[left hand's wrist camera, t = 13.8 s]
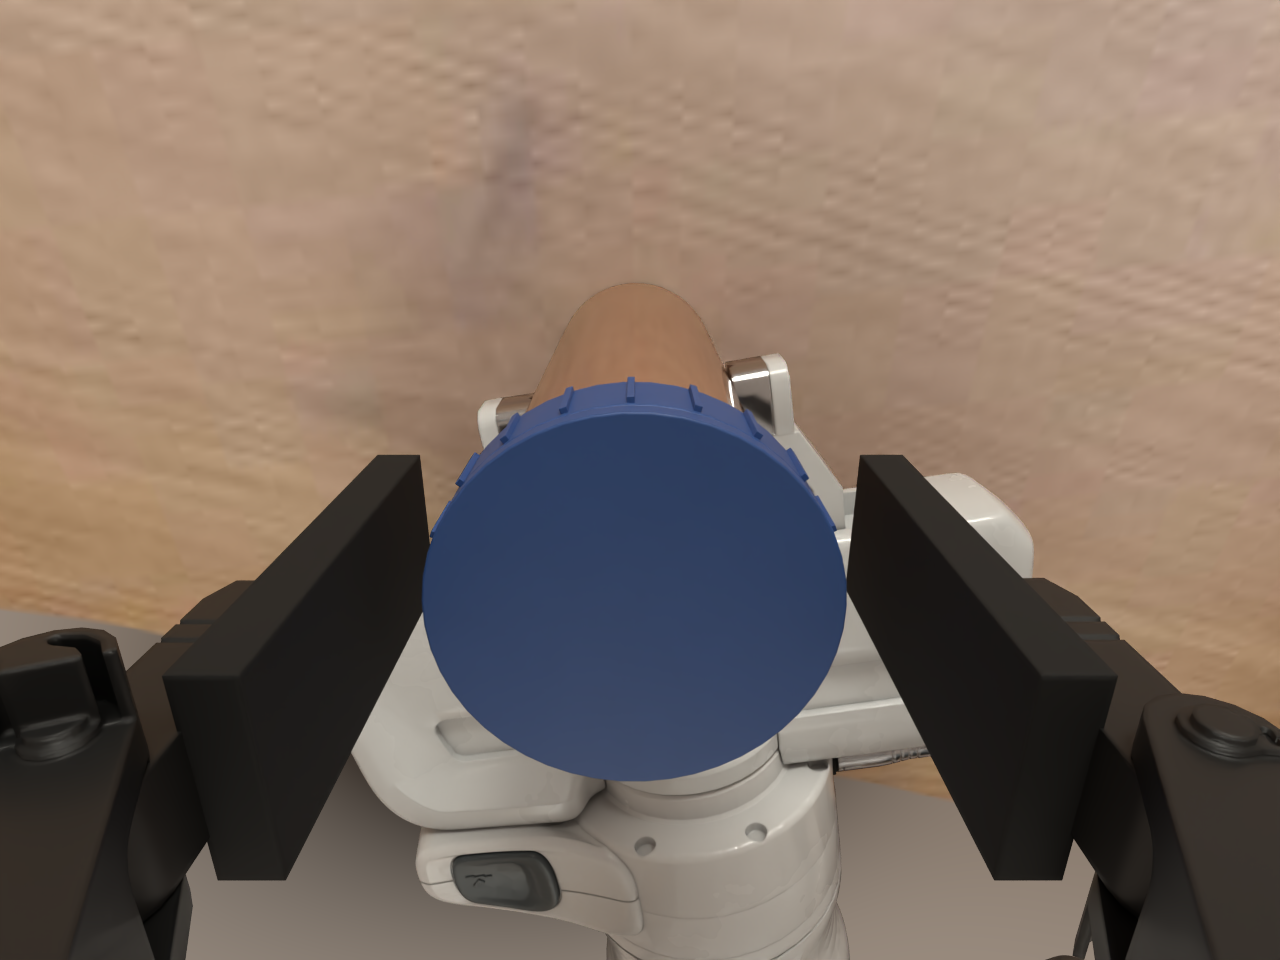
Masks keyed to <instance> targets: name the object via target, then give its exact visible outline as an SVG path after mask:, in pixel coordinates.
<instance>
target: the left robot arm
mask: <svg viewBox="0 0 1280 960" xmlns="http://www.w3.org/2000/svg"><path fill="white" fill-rule="evenodd" d="M429 547H430V541H429V532H428V523H427V514H426V506H425V497H424V488H423V479H422V470H421V461H420V455H377V456H376V457H375V458H374V459H373V460H372V461H371V462H370V463H369V464H368V465H367V466H366V467H365V468H364V469H363V471H362V472H361V473H360V474H359V475H358V476H357V477H356V478H355V479H354V480H353V481H352V482H351V483H350V484H349V485H348V486H347V487H346V488H345V489H344V490H343V491H342V492H341V493H340V494H339V495H338V496H337V497H336V498H335V499H334V500H333V501H332V502H331V503H330V504H329V505H328V506H327V507H326V508H325V509H324V510H323V511H322V512H321V513H320V514H319V516H318V517H317V518H316V519H315V520H314V521H313V522H312V523H311V524H310V525H309V526H308V527H307V528H306V529H305V530H304V531H303V532H302V533H301V534H300V535H299V536H298V537H297V538H296V539H295V540H294V541H293V542H292V543H291V544H290V545H289V546H288V547H287V548H286V549H285V550H284V551H283V552H282V553H281V554H280V555H279V556H278V557H277V558H276V559H275V561H274V562H273V563H272V564H271V565H270V566H269V567H268V568H267V569H266V570H265V571H264V572H263V573H262V574H261V575H260V576H259V577H258V578H257V579H256V580H255V581H235V582H233V583H231V584H229V585H228V586H226V587H224V588H222V589H220V590H218V591H216V592H215V593H213V594H211V595H209V596H207V597H205V598H204V599H202V600H201V601H200V602H199V603H198V604H197V605H196V606H195V607H194V608H193V609H192V610H191V611H190V612H188V613H187V614H186V615H185V616H184V617H183V618H182V619H181V620H180V624H176V625H175V626H174V627H173V628H172V629H170V630H169V631H168V632H167V633H166V634H165V635H164V636H163V637H162V638H161V643H156V644H155V645H154V646H152V647H151V648H150V649H149V650H148V651H147V652H146V653H145V654H144V655H143V656H142V657H141V658H140V659H139V660H138V661H137V662H135V663H134V664H133V665H132V666H131V667H130V668H129V669H128V670H127V671H126V670H125V667H124V664H123V660H122V657H121V653H120V650H119V647H118V643H117V640H116V637H114V636H112V635H111V634H109V633H108V632H106V631H104V630H99V629H90V628H73V629H63V630H54V631H50V632H46V633H42V634H38V635H34V636H30V637H26V638H22V639H20V640H17V641H15V642H12V643H10V644H7V645H5V646H2V647H0V960H185V958H186V951H187V944H188V936H189V929H190V921H191V914H192V907H193V905H192V899H191V892H190V887H189V884H188V881H187V877H186V873H187V871H188V869H189V868H190V866H191V865H192V863H193V862H194V860H195V859H196V857H197V856H198V854H199V853H200V851H201V850H202V848H203V847H204V845H205V844H206V842H207V843H208V846H209V850H210V854H211V857H212V861H213V864H214V868H215V872H216V875H217V879H218V880H286V879H287V877H288V875H289V873H290V871H291V869H292V867H293V865H294V863H295V861H296V859H297V857H298V855H299V853H300V851H301V849H302V847H303V845H304V843H305V841H306V840H307V838H308V836H309V834H310V832H311V830H312V828H313V826H314V824H315V822H316V820H317V818H318V816H319V814H320V812H321V810H322V808H323V806H324V804H325V802H326V800H327V798H328V797H329V795H330V793H331V791H332V789H333V787H334V785H335V783H336V781H337V779H338V777H339V775H340V773H341V771H342V769H343V767H344V765H345V763H346V761H347V759H348V757H349V755H350V753H351V751H352V750H353V748H354V746H355V744H356V742H357V740H358V738H359V736H360V734H361V732H362V730H363V728H364V726H365V724H366V722H367V720H368V718H369V716H370V714H371V712H372V710H373V708H374V706H375V705H376V703H377V701H378V699H379V697H380V695H381V693H382V691H383V689H384V687H385V685H386V683H387V681H388V679H389V677H390V675H391V673H392V671H393V669H394V667H395V665H396V663H397V661H398V659H399V658H400V656H401V654H402V652H403V650H404V648H405V646H406V644H407V642H408V640H409V638H410V636H411V634H412V632H413V630H414V628H415V626H416V624H417V622H418V620H419V618H420V616H421V614H422V612H423V610H422V579H423V572H424V567H425V562H426V557H427V552H428V549H429ZM846 585H847V593H848V595H849V597H850V599H851V601H852V603H853V605H854V607H855V609H856V611H857V613H858V614H859V616H860V618H861V620H862V622H863V624H864V626H865V628H866V630H867V632H868V634H869V636H870V638H871V640H872V642H873V644H874V646H875V648H876V650H877V652H878V654H879V656H880V658H881V659H882V661H883V663H884V665H885V667H886V669H887V671H888V673H889V675H890V677H891V679H892V681H893V683H894V685H895V687H896V689H897V691H898V693H899V695H900V697H901V699H902V701H903V703H904V705H905V706H906V708H907V710H908V712H909V714H910V716H911V718H912V720H913V722H914V724H915V726H916V728H917V730H918V732H919V734H920V736H921V738H922V740H923V742H924V744H925V746H926V748H927V750H928V751H929V753H930V755H931V757H932V759H933V761H934V763H935V765H936V767H937V769H938V771H939V773H940V775H941V777H942V779H943V781H944V783H945V785H946V787H947V789H948V791H949V793H950V795H951V797H952V798H953V800H954V802H955V804H956V806H957V808H958V810H959V812H960V814H961V816H962V818H963V820H964V822H965V824H966V826H967V828H968V830H969V832H970V834H971V836H972V838H973V840H974V842H975V844H976V845H977V847H978V849H979V851H980V853H981V855H982V857H983V859H984V861H985V863H986V865H987V867H988V869H989V871H990V873H991V875H992V877H993V879H994V880H1062V879H1063V875H1064V871H1065V868H1066V864H1067V861H1068V857H1069V853H1070V850H1071V846H1072V843H1073V839H1074V840H1075V841H1076V843H1077V844H1078V846H1079V847H1080V849H1081V850H1082V852H1083V853H1084V855H1085V856H1086V858H1087V859H1088V861H1089V862H1090V864H1091V865H1092V867H1093V868H1094V870H1095V874H1094V877H1093V881H1092V884H1091V887H1090V891H1089V894H1088V898H1087V901H1086V904H1085V908H1084V911H1083V915H1082V918H1081V921H1080V925H1079V928H1078V932H1077V935H1076V938H1075V944H1074V950H1073V956H1075V957H1078V958H1081V959H1084V958H1085V955H1086V952H1087V948H1088V945H1089V942H1091V941H1093V948H1094V956H1095V960H1280V729H1278V728H1277V727H1275V726H1274V725H1272V724H1271V723H1270V722H1268V721H1267V720H1265V719H1264V718H1262V717H1259V716H1257V715H1255V714H1253V713H1251V712H1249V711H1246V710H1244V709H1242V708H1240V707H1238V706H1236V705H1233V704H1230V703H1226V702H1223V701H1219V700H1216V699H1213V698H1209V697H1206V696H1199V695H1190V694H1182V693H1181V692H1180V691H1178V690H1177V689H1176V688H1175V687H1174V686H1173V685H1172V684H1171V683H1170V682H1169V681H1168V680H1167V679H1166V678H1165V677H1163V676H1162V675H1161V674H1160V673H1159V672H1158V671H1157V670H1156V669H1155V668H1154V667H1153V666H1152V665H1151V664H1150V663H1149V662H1147V661H1146V660H1145V659H1144V658H1143V657H1142V656H1141V655H1140V654H1139V653H1138V652H1137V651H1136V650H1135V649H1134V648H1132V647H1131V646H1130V645H1129V644H1128V643H1127V642H1126V641H1125V640H1120V638H1119V634H1118V633H1116V632H1115V631H1114V630H1113V629H1112V628H1111V627H1110V626H1109V625H1108V624H1107V623H1106V622H1101V620H1100V617H1099V616H1098V615H1097V614H1096V613H1095V612H1094V611H1093V610H1092V609H1091V608H1090V607H1089V606H1088V605H1087V604H1085V603H1084V602H1083V601H1082V600H1081V599H1080V598H1079V597H1078V596H1076V595H1074V594H1073V593H1071V592H1069V591H1067V590H1065V589H1063V588H1061V587H1060V586H1058V585H1056V584H1054V583H1052V582H1050V581H1048V580H1047V579H1045V578H1022V577H1021V576H1020V575H1019V574H1018V573H1017V572H1016V571H1015V570H1014V569H1013V568H1012V567H1011V566H1010V565H1009V564H1008V563H1007V562H1006V561H1005V559H1004V558H1003V557H1002V556H1001V555H1000V554H999V553H998V552H997V551H996V550H995V549H994V548H993V547H992V546H991V545H990V544H989V543H988V542H987V541H986V540H985V539H984V538H983V537H982V536H981V535H980V534H979V533H978V532H977V531H976V530H975V529H974V528H973V527H972V526H971V525H970V524H969V523H968V522H967V521H966V520H965V519H964V518H963V517H962V516H961V514H960V513H959V512H958V511H957V510H956V509H955V508H954V507H953V506H952V505H951V504H950V503H949V502H948V501H947V500H946V499H945V498H944V497H943V496H942V495H941V494H940V493H939V492H938V491H937V490H936V489H935V488H934V487H933V486H932V485H931V484H930V483H929V482H928V481H927V480H926V479H925V478H924V477H923V476H922V475H921V474H920V473H919V472H918V471H917V469H916V468H915V467H914V466H913V465H912V464H911V463H910V462H909V461H908V460H907V459H906V458H905V457H904V456H903V455H860V461H859V470H858V479H857V488H856V497H855V505H854V514H853V523H852V532H851V541H850V550H849V559H848V568H847V577H846Z"/></svg>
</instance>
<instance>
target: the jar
mask: <svg viewBox="0 0 1280 960" xmlns="http://www.w3.org/2000/svg"><path fill="white" fill-rule="evenodd" d="M628 377H635V382H653V383H660V384H667V385H674V386H679V387H683V388H686V389H689V386H690V384H691V385H695V386H697V389H698V392H701V393H704V394H706V395H709V396H711V397H713V398H716V399H718V400H720V401H723V402H725V403H727V404H729V405H731V406H732V407H734V408H736V409H737V410H739V411H741V412H743V413H744V411H745V410H744V408H743V406H742V404H741V402H740V400H739V398H738V396H737V394H736V391H735V389H734V387H733V385H732V383H731V381H730V379H729V377H728V375H727V372H726V370H725V368H724V366H723V364H722V362H721V360H720V358H719V356H718V353H717V351H716V349H715V347H714V345H713V343H712V341H711V339H710V337H709V334H708V332H707V330H706V328H705V326H704V324H703V322H702V320H701V319H700V317H699V316H698V315H697V313H696V312H695V311H694V309H693V308H692V307H691V306H690V305H689V304H688V303H687V302H685V301H684V300H683V299H682V298H681V297H679V296H677V295H676V294H674V293H673V292H671V291H668V290H666V289H664V288H661V287H658V286H655V285H650V284H643V283H629V284H621V285H617V286H613V287H610V288H608V289H605V290H603V291H601V292H599V293H597V294H596V295H594V296H592V297H591V298H590V299H589V300H587V301H586V302H585V303H584V304H583V305H582V306H581V307H580V308H579V309H578V310H577V311H576V313H575V314H574V315H573V317H572V318H571V320H570V322H569V324H568V325H567V327H566V329H565V331H564V333H563V335H562V338H561V340H560V342H559V344H558V346H557V348H556V350H555V352H554V354H553V356H552V358H551V360H550V362H549V364H548V366H547V368H546V370H545V372H544V374H543V376H542V379H541V381H540V383H539V385H538V387H537V389H536V391H535V393H534V395H533V397H532V399H531V401H530V403H529V405H528V407H527V409H526V411H525V413H526V412H528V411H530V410H532V409H533V408H535V407H537V406H539V405H540V404H542V403H544V402H546V401H548V400H551V399H553V398H556V397H558V396H561V395H563V394H564V392H565V389H566V388H568V387H571V386H573V389H574V391H575V390H579V389H583V388H587V387H591V386H595V385H601V384H609V383H618V382H627V378H628Z"/></svg>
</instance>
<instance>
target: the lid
mask: <svg viewBox="0 0 1280 960" xmlns="http://www.w3.org/2000/svg"><path fill="white" fill-rule="evenodd" d="M808 479H809V477H808V475H807V473H806V471H805V470H804V468H803V466H802V465H801V463H800V461H799V459H798V458H797V456H796V454H795V453H794V451H793V450H792V449H791V448H789V449H787V450H785V448H784V447H783V446H782V445H781V444H780V443H779V442H778V441H777V440H776V439H775V438H774V437H773V436H772V435H771V434H770V433H769V432H768V431H767V430H766V429H764V428H763V427H762V426H761V425H759V424H758V423H757V422H756V420H755V418H754V416H753V414H752V412H751V411H749V410H748V409H746V410H745V411H744V413H743V412H741V411H739V410H737V409H736V408H734V407H732V406H731V405H729V404H727V403H725V402H723V401H720V400H718V399H716V398H713V397H711V396H709V395H706V394H704V393H701V392H698V389H697V386H695V385H691V384H690V386H689V389H686V388H683V387H679V386H674V385H667V384H660V383H653V382H635V377H628V378H627V382H618V383H609V384H601V385H595V386H591V387H587V388H583V389H579V390H575V391H574V389H573V386H571V387H568V388H566V389H565V392H564V394H563V395H561V396H558V397H556V398H553V399H551V400H548V401H546V402H544V403H542V404H540V405H539V406H537V407H535V408H533V409H532V410H530V411H528V412H526V413H524V414H523V415H522V416H520V415H519V414H518V413H515V414H514V415H513V416H512V417H511V419H510V421H509V423H508V424H507V426H506V428H504V429H503V430H502V431H501V432H500V433H499V434H498V435H497V436H496V437H495V438H494V439H493V440H492V441H491V442H490V443H489V444H488V445H487V446H486V447H485V449H484V450H483V451H482V453H481V454H480V455H478V454H477V453H474V454H473V455H472V457H471V458H470V460H469V462H468V463H467V465H466V467H465V468H464V470H463V472H462V473H461V475H460V477H459V478H458V480H457V482H456V483H455V484H456V485H458V486H459V488H458V490H457V492H456V494H455V495H454V497H453V499H452V500H451V501H449V502H448V504H447V505H446V507H445V509H444V510H443V512H442V514H441V516H440V517H439V519H438V521H437V522H436V524H435V526H434V527H433V529H432V531H431V534H430V537H431V538H432V541H431V544H430V547H429V549H428V552H427V557H426V562H425V567H424V572H423V579H422V610H423V619H424V627H425V630H426V634H427V638H428V642H429V646H430V649H431V652H432V654H433V657H434V659H435V661H436V664H437V666H438V668H439V671H440V673H441V674H442V676H443V678H444V679H445V681H446V683H447V684H448V686H449V688H450V689H451V691H452V693H453V694H454V695H455V696H456V698H457V699H458V700H459V701H460V703H461V704H462V705H463V707H464V708H465V709H466V710H467V711H468V712H469V713H470V714H471V715H472V716H473V717H474V718H475V719H476V720H477V721H478V722H479V723H480V724H481V725H482V726H483V727H484V728H485V729H486V730H488V731H489V732H490V733H492V734H493V735H494V736H496V737H497V738H498V739H499V740H501V741H502V742H503V743H505V744H507V745H508V746H510V747H512V748H513V749H515V750H517V751H518V752H520V753H522V754H523V755H525V756H527V757H530V758H532V759H534V760H536V761H538V762H541V763H543V764H545V765H547V766H550V767H553V768H556V769H559V770H562V771H565V772H568V773H572V774H576V775H581V776H586V777H590V778H595V779H603V780H612V781H642V782H645V781H656V780H666V779H673V778H678V777H683V776H688V775H693V774H697V773H700V772H703V771H706V770H710V769H713V768H716V767H719V766H721V765H723V764H726V763H728V762H730V761H733V760H735V759H737V758H739V757H742V756H743V755H745V754H747V753H749V752H750V751H752V750H754V749H755V748H757V747H759V746H761V745H762V744H764V743H765V742H766V741H768V740H769V739H770V738H772V737H773V736H774V735H776V734H777V733H779V732H780V731H781V730H782V729H783V728H785V727H786V726H787V725H788V724H789V723H790V722H791V721H792V720H793V719H794V718H795V717H796V716H797V715H798V714H799V713H800V712H801V711H802V710H803V708H804V707H805V706H806V705H807V704H808V702H809V701H810V700H811V699H812V697H813V696H814V695H815V693H816V692H817V690H818V689H819V687H820V685H821V684H822V682H823V681H824V679H825V677H826V676H827V674H828V672H829V669H830V667H831V665H832V663H833V661H834V658H835V656H836V654H837V651H838V647H839V644H840V640H841V637H842V633H843V630H844V623H845V616H846V608H847V585H846V575H845V570H844V564H843V558H842V554H841V551H840V548H839V545H838V542H837V539H836V536H835V533H834V532H835V531H837V529H836V526H835V524H834V522H833V520H832V519H831V517H830V515H829V513H828V512H827V510H826V508H825V506H824V505H823V503H822V501H821V500H820V498H819V496H818V495H817V496H815V495H814V494H813V492H812V490H811V488H810V487H809V485H808V483H807V480H808Z"/></svg>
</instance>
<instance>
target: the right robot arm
mask: <svg viewBox="0 0 1280 960" xmlns="http://www.w3.org/2000/svg"><path fill="white" fill-rule="evenodd" d="M725 368H726V372H727V375H728V377H729V379H730V381H731V383H732V385H733V387H734V389H735V391H736V394H737V396H738V398H739V400H740V402H741V404H742V406H743V408H744V410H746V409H748V410H749V411H751V412H752V414H753V416H754V418H755V420H756V422H757V423H758V424H759V425H761V426H762V427H763V428H764V429H766V430H767V431H768V432H769V433H770V434H771V435H772V436H773V437H774V438H775V439H776V440H777V441H778V442H779V443H780V444H781V445H782V446H783V447H784V448H785V450H787V449H789V448H791V449H792V450H793V451H794V453H795V454H796V456H797V458H798V459H799V461H800V463H801V465H802V466H803V468H804V470H805V471H806V473H807V475H808V477H809V479H808V480H807V483H808V485H809V487H810V488H811V490H812V492H813V494H814V495H815V496H817V495H818V496H819V498H820V500H821V501H822V503H823V505H824V506H825V508H826V510H827V512H828V513H829V515H830V517H831V519H832V520H833V522H834V524H835V526H836V529H837V531H835V532H834V533H835V536H836V539H837V542H838V545H839V548H840V551H841V554H842V558H843V564H844V570H845V575H846V577H847V568H848V559H849V550H850V541H851V532H852V523H853V514H854V505H855V497H856V488H857V487H854V488H848V489H843V487H842V486H841V484H840V483H839V481H838V480H837V478H836V477H835V475H834V474H833V472H832V471H831V469H830V468H829V466H828V465H827V463H826V462H825V460H824V459H823V458H822V457H821V455H820V454H819V453H818V451H817V450H816V449H815V447H814V446H813V445H812V444H811V442H810V441H809V440H808V438H807V437H806V436H805V434H804V433H803V432H802V431H801V429H800V428H799V427H798V425H797V424H796V423H795V422H794V416H793V405H792V395H791V384H790V376H789V372H788V368H787V364H786V361H785V360H784V359H783V358H782V357H781V355H780V354H779V353H776V354H770V355H765V356H758V357H752V358H746V359H741V360H735V361H729V362H726V364H725ZM533 395H534V393H533V394H526V395H519V396H512V397H505V398H502V397H501V398H497V399H492V400H487V401H484V403H483V404H482V406H481V407H480V409H479V410H478V430H479V434H480V438H481V442H482V446H483V450H484V449H485V447H486V446H487V445H488V444H489V443H490V442H491V441H492V440H493V439H494V438H495V437H496V436H497V435H498V434H499V433H500V432H501V431H502V430H503V429H504V428H506V426H507V424H508V423H509V421H510V419H511V417H512V416H513V415H514V414H515V413H518V414H519V415H520V416H522V415H523V414H524V413H525V411H526V409H527V407H528V405H529V403H530V401H531V399H532V397H533ZM924 478H925V479H926V480H927V481H928V482H929V483H930V484H931V485H932V486H933V487H934V488H935V489H936V490H937V491H938V492H939V493H940V494H941V495H942V496H943V497H944V498H945V499H946V500H947V501H948V502H949V503H950V504H951V505H952V506H953V507H954V508H955V509H956V510H957V511H958V512H959V513H960V514H961V516H962V517H963V518H964V519H965V520H966V521H967V522H968V523H969V524H970V525H971V526H972V527H973V528H974V529H975V530H976V531H977V532H978V533H979V534H980V535H981V536H982V537H983V538H984V539H985V540H986V541H987V542H988V543H989V544H990V545H991V546H992V547H993V548H994V549H995V550H996V551H997V552H998V553H999V554H1000V555H1001V556H1002V557H1003V558H1004V559H1005V561H1006V562H1007V563H1008V564H1009V565H1010V566H1011V567H1012V568H1013V569H1014V570H1015V571H1016V572H1017V573H1018V574H1019V575H1020V576H1021V577H1022V578H1032V574H1033V564H1034V546H1033V541H1032V537H1031V535H1030V533H1029V531H1028V529H1027V528H1026V526H1025V525H1024V523H1023V522H1022V521H1021V520H1020V519H1019V518H1018V516H1017V515H1016V514H1015V513H1014V512H1013V511H1012V510H1011V509H1010V508H1009V507H1008V506H1007V505H1006V504H1005V503H1004V502H1003V501H1002V500H1000V499H999V498H998V497H997V496H996V495H994V494H993V493H992V492H990V491H989V490H988V489H986V488H985V487H983V486H982V485H981V484H979V483H978V482H977V481H975V480H974V479H972V478H971V477H969V476H967V475H965V474H961V473H947V474H941V475H934V476H927V477H924ZM351 753H352V755H353V757H354V759H355V761H356V763H357V764H358V766H359V768H360V770H361V772H362V774H363V775H364V777H365V779H366V780H367V782H368V784H369V786H370V787H371V788H372V790H373V791H374V793H375V794H376V795H377V797H378V798H379V799H380V800H381V801H382V802H383V803H384V804H385V805H386V806H387V807H388V808H389V809H390V810H391V811H392V812H394V813H395V814H396V815H398V816H399V817H401V818H403V819H404V820H406V821H409V822H411V823H413V824H416V825H419V826H421V831H420V836H419V842H418V848H417V853H416V861H415V865H416V870H417V874H418V877H419V880H420V882H421V885H422V886H423V888H424V890H425V891H426V892H427V893H428V894H429V895H430V896H432V897H433V898H435V899H437V900H440V901H443V902H447V903H452V904H460V905H468V906H477V907H487V908H495V909H502V910H510V911H516V912H522V913H529V914H534V915H539V916H544V917H549V918H554V919H558V920H562V921H566V922H570V923H574V924H577V925H580V926H583V927H587V928H590V929H593V930H596V931H599V932H603V933H605V934H606V935H607V937H608V938H607V960H850V955H849V945H848V938H847V933H846V928H845V924H844V920H843V917H842V914H841V911H840V909H839V906H838V904H837V902H836V900H837V897H838V893H839V887H840V880H841V853H840V840H839V829H838V817H837V806H836V794H835V786H834V778H833V775H836V771H838V772H840V771H843V770H844V771H847V770H854V769H862V768H870V767H878V766H883V765H888V764H892V762H893V763H896V762H900V760H901V761H904V760H908V759H914V758H917V757H918V758H922V757H928V756H931V755H930V753H929V751H928V750H927V748H926V746H925V744H924V742H923V740H922V738H921V736H920V734H919V732H918V730H917V728H916V726H915V724H914V722H913V720H912V718H911V716H910V714H909V712H908V710H907V708H906V706H905V705H904V703H903V701H902V699H901V697H900V695H899V693H898V691H897V689H896V687H895V685H894V683H893V681H892V679H891V677H890V675H889V673H888V671H887V669H886V667H885V665H884V663H883V661H882V659H881V658H880V656H879V654H878V652H877V650H876V648H875V646H874V644H873V642H872V640H871V638H870V636H869V634H868V632H867V630H866V628H865V626H864V624H863V622H862V620H861V618H860V616H859V614H858V613H857V611H856V609H855V607H854V605H853V603H852V601H851V599H850V597H849V595H848V593H847V608H846V616H845V623H844V630H843V633H842V637H841V640H840V644H839V647H838V651H837V654H836V656H835V658H834V661H833V663H832V665H831V667H830V669H829V672H828V674H827V676H826V677H825V679H824V681H823V682H822V684H821V685H820V687H819V689H818V690H817V692H816V693H815V695H814V696H813V697H812V699H811V700H810V701H809V702H808V704H807V705H806V706H805V707H804V708H803V710H802V711H801V712H800V713H799V714H798V715H797V716H796V717H795V718H794V719H793V720H792V721H791V722H790V723H789V724H788V725H787V726H786V727H785V728H783V729H782V730H781V731H780V732H779V733H777V734H776V735H774V736H773V737H772V738H770V739H769V740H768V741H766V742H765V743H764V744H762V745H761V746H759V747H757V748H755V749H754V750H752V751H750V752H749V753H747V754H745V755H743V756H742V757H739V758H737V759H735V760H733V761H730V762H728V763H726V764H723V765H721V766H719V767H716V768H713V769H710V770H706V771H703V772H700V773H697V774H693V775H688V776H683V777H678V778H673V779H666V780H656V781H645V782H642V781H612V780H603V779H595V778H590V777H586V776H581V775H576V774H572V773H568V772H565V771H562V770H559V769H556V768H553V767H550V766H547V765H545V764H543V763H541V762H538V761H536V760H534V759H532V758H530V757H527V756H525V755H523V754H522V753H520V752H518V751H517V750H515V749H513V748H512V747H510V746H508V745H507V744H505V743H503V742H502V741H501V740H499V739H498V738H497V737H496V736H494V735H493V734H492V733H490V732H489V731H488V730H486V729H485V728H484V727H483V726H482V725H481V724H480V723H479V722H478V721H477V720H476V719H475V718H474V717H473V716H472V715H471V714H470V713H469V712H468V711H467V710H466V709H465V708H464V707H463V705H462V704H461V703H460V701H459V700H458V699H457V698H456V696H455V695H454V694H453V693H452V691H451V689H450V688H449V686H448V684H447V683H446V681H445V679H444V678H443V676H442V674H441V673H440V671H439V668H438V666H437V664H436V661H435V659H434V657H433V654H432V652H431V649H430V646H429V642H428V638H427V634H426V630H425V627H424V619H423V612H422V614H421V616H420V618H419V620H418V622H417V624H416V626H415V628H414V630H413V632H412V634H411V636H410V638H409V640H408V642H407V644H406V646H405V648H404V650H403V652H402V654H401V656H400V658H399V659H398V661H397V663H396V665H395V667H394V669H393V671H392V673H391V675H390V677H389V679H388V681H387V683H386V685H385V687H384V689H383V691H382V693H381V695H380V697H379V699H378V701H377V703H376V705H375V706H374V708H373V710H372V712H371V714H370V716H369V718H368V720H367V722H366V724H365V726H364V728H363V730H362V732H361V734H360V736H359V738H358V740H357V742H356V744H355V746H354V748H353V750H352V751H351ZM1047 960H1083V959H1081V958H1078V957H1073V956H1067V955H1062V956H1056V957H1053V958H1050V959H1047Z"/></svg>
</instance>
